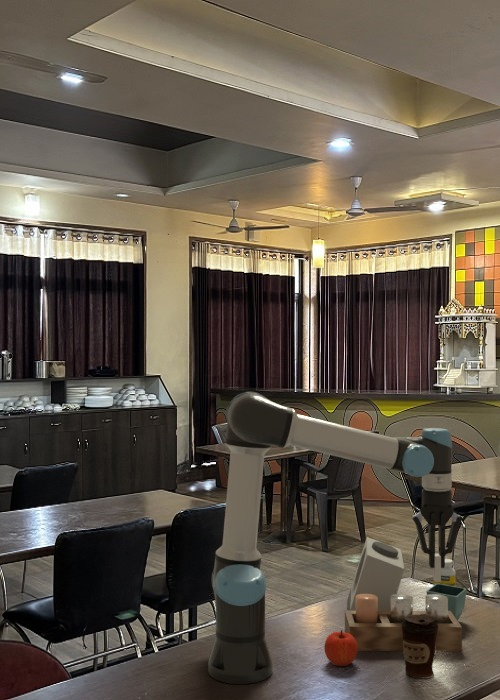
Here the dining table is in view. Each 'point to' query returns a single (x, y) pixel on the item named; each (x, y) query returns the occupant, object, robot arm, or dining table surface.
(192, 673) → the dining table surface
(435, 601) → the plug far
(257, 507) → the robot arm
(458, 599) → the flower pot
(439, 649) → the divided box
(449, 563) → the pill bottle
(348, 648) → the apple
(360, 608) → the plug terracotta
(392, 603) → the plug mid
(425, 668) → the coffee cup
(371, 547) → the alarm clock
